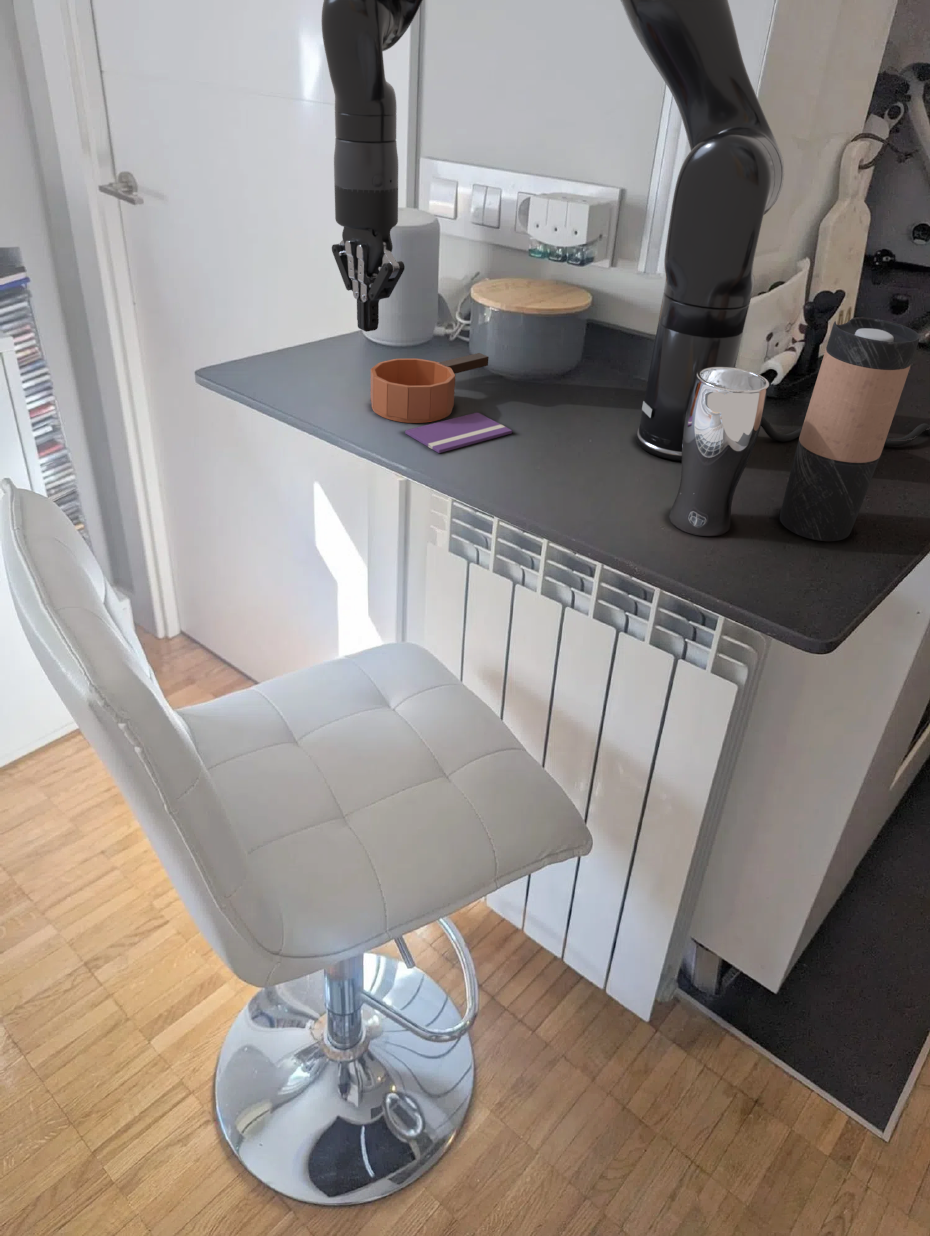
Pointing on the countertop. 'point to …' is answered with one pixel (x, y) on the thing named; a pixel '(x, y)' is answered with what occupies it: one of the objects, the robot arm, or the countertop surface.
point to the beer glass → (717, 446)
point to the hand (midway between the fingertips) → (367, 329)
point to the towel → (458, 432)
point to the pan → (418, 387)
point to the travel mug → (846, 426)
